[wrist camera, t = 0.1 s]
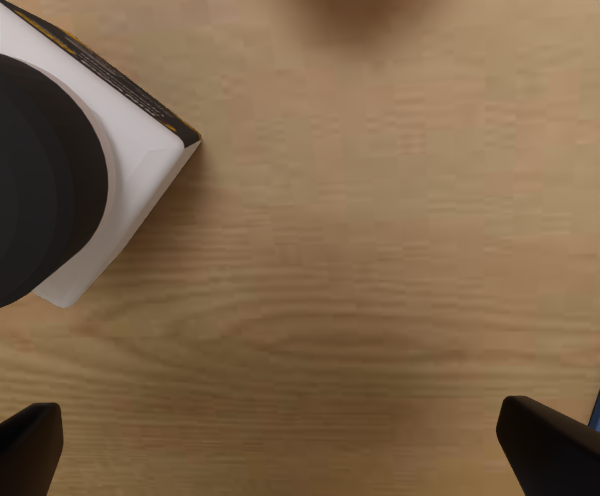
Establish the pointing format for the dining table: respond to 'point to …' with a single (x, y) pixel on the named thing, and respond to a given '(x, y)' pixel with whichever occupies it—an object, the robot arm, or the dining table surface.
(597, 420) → the towel
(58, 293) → the medicine bottle
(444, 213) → the dining table surface
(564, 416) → the robot arm
